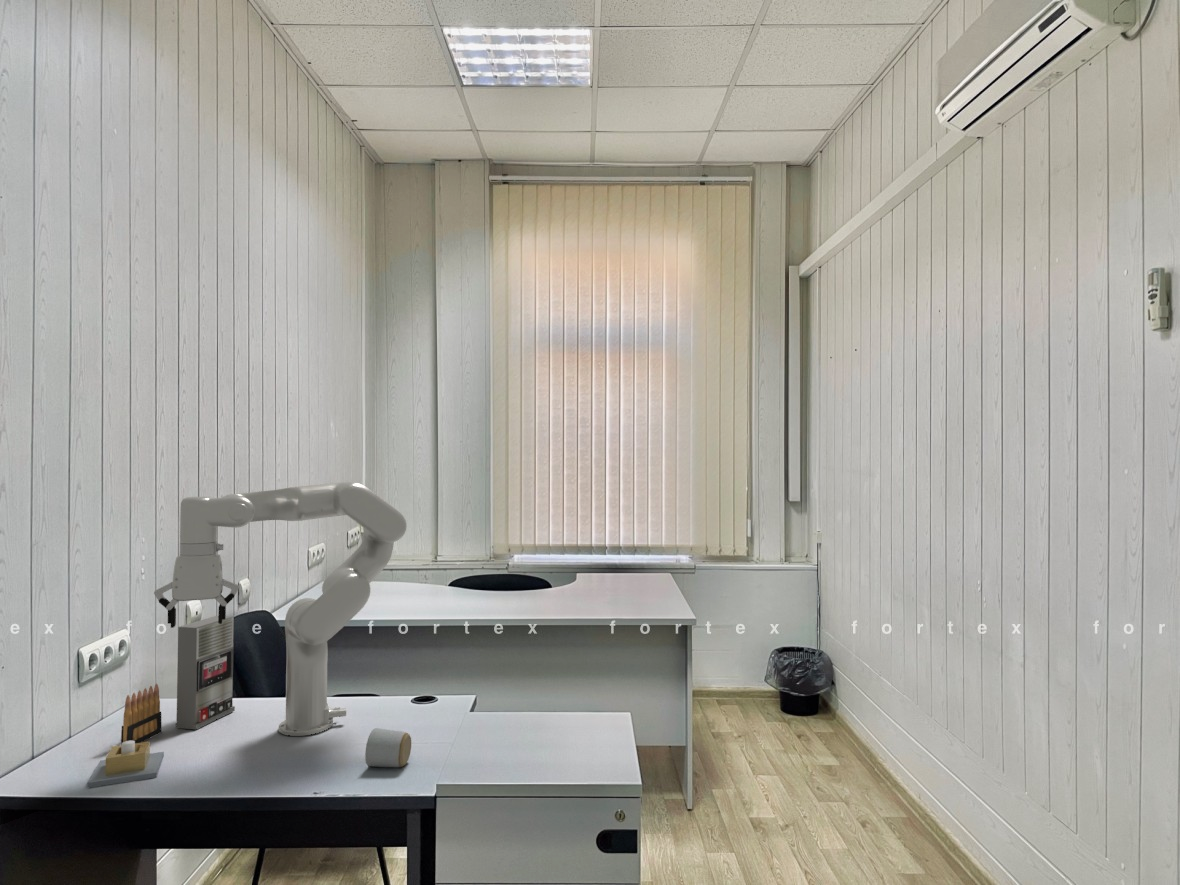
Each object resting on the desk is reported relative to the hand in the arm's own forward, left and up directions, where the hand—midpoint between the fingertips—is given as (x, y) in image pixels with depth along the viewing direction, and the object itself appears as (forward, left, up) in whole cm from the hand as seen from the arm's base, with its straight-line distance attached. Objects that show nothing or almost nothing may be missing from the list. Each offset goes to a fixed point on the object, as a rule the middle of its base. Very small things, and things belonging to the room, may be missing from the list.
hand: (197, 624), depth 167 cm
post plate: (+12, +8, -28) cm, 32 cm away
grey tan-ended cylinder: (-40, +26, -29) cm, 55 cm away
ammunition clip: (+12, -11, -29) cm, 33 cm away
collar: (+12, +8, -27) cm, 31 cm away
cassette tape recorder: (-1, -20, -28) cm, 35 cm away
